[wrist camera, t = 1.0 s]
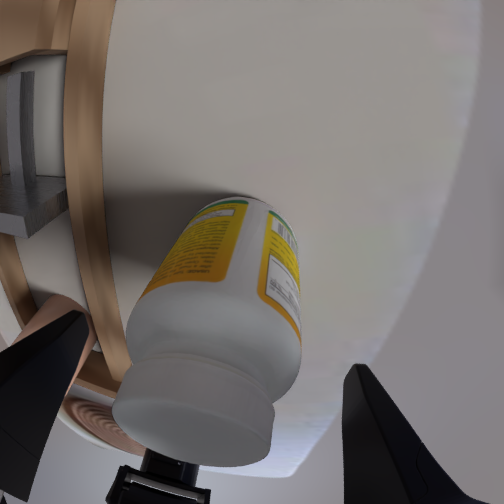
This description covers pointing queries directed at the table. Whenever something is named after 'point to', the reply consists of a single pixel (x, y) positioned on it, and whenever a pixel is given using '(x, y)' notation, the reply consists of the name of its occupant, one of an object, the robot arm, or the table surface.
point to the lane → (72, 166)
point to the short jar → (54, 310)
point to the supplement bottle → (215, 338)
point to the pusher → (26, 169)
